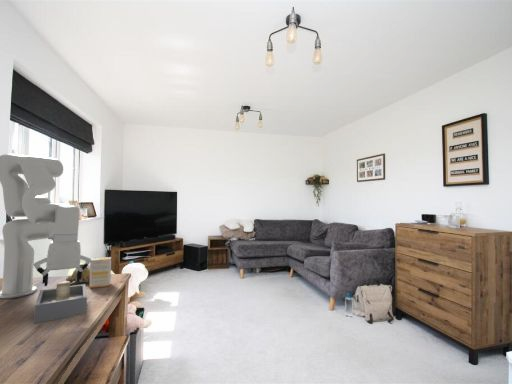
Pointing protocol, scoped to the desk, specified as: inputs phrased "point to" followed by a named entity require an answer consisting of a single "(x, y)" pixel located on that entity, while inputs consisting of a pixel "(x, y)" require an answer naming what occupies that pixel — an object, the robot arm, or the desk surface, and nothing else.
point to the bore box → (60, 304)
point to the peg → (63, 290)
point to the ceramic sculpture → (84, 277)
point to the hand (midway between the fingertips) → (62, 283)
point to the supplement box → (100, 272)
